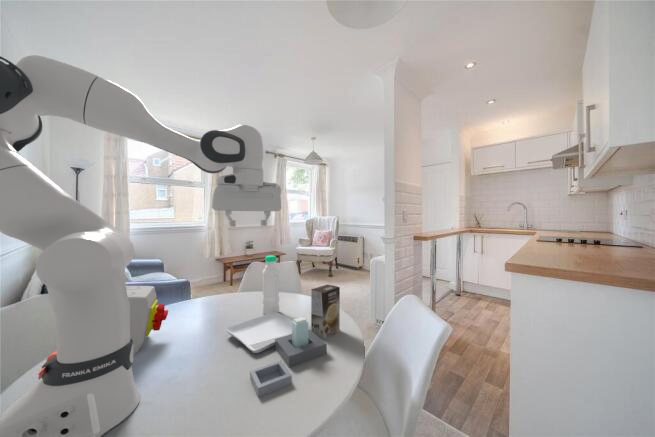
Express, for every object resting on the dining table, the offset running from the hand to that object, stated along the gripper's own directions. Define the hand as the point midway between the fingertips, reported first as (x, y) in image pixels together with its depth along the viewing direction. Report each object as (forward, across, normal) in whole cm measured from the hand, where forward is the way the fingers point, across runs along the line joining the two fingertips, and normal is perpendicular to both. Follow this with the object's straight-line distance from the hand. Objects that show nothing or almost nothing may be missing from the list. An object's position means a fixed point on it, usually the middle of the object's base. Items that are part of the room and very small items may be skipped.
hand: (248, 226), depth 73 cm
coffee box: (+39, -27, +1) cm, 48 cm away
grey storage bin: (+39, -1, +17) cm, 43 cm away
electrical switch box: (+39, +30, -25) cm, 55 cm away
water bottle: (+39, -16, -27) cm, 50 cm away
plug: (+39, -13, +9) cm, 42 cm away
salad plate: (+40, -8, -8) cm, 41 cm away
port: (+39, -13, +9) cm, 42 cm away
